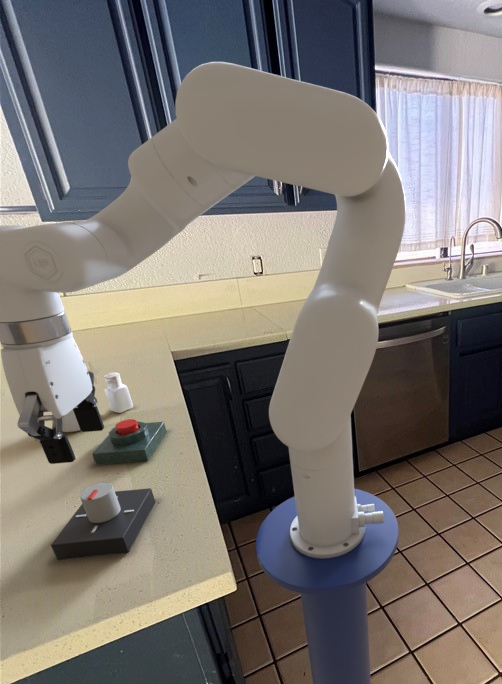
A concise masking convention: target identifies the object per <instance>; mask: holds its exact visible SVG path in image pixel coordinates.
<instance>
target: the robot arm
mask: <svg viewBox="0 0 502 684" xmlns="http://www.w3.org/2000/svg"><path fill="white" fill-rule="evenodd" d="M174 102H175V103H174V104H175V117H176V118H175V119H173V121H171V122H170V123H168V124H167V125H166V126H165V127H164V128H162V129H161V130H159V131H158V132H157V133H155V134H154V135H153V136H151V137H150V138H148V140H146V141H145V142H144V143H142V144H141V145H140V146H138V147H137V148H136V149H134V150H133V151H132V152H131V153H130V155H129V157H128V160H127V166H128V170H129V174H130V181H129V184H128V185H127V187H126V188H125V190H124V191H123V192H122V193H121V194H120V195H119V196H118V197H117V198H115V199H114V200H113V201H112V202H111V203H109V204H108V205H107V206H106V207H104V208H103V209H101V210H100V211H99V212H97V213H95V214H94V215H93V216H91V217H90V218H88V219H86V220H85V219H83V220H75V221H74V220H73V221H63V222H54V223H46V224H38V225H31V226H24V225H17V224H16V225H14V224H13V225H10V224H9V225H0V345H1V349H0V357H1V362H2V367H3V372H4V375H5V376H4V377H5V379H6V383H7V385H8V389H9V391H10V395H11V397H12V400H13V402H14V405H15V408H16V411H17V413H18V415H19V417H18V420H17V423H16V425H17V427H18V429H20V430H21V431H23V432H25V433H26V434H27V436H28V437H31V438H33V439H34V441H36V442H39V444H40V446H41V448H42V450H43V453H44V455H45V457H46V460H47V463H49V464H51V465H56V464H65V463H67V464H68V463H73V462H74V461H75V460H76V455H75V452H74V451H73V447H72V444H71V442H70V440H69V437H68V435H67V434H63V431H62V418H63V417H64V416H65V415H66V414H68V413H69V412H70V411H71V410H72V409H73V411H74V414H75V416H76V419H77V422H78V425H79V427H80V430H79V431H80V432H82V433H88V432H89V433H90V432H101V431H103V430H104V429H105V425H104V422H103V420H102V417H101V414H100V411H99V408H98V406H97V405H98V398H97V397H96V396H95V395H96V387H95V374H94V372H93V371H90V370H88V368H87V365H86V363H85V360H84V357H83V355H82V353H81V350H80V348H79V346H78V344H77V342H76V339H75V338H74V334H73V330H72V328H71V324H70V322H69V319H68V317H67V314H66V313H67V312H66V310H65V308H64V304H63V301H62V299H61V295H60V293H61V294H64V293H65V294H66V293H74V292H78V291H82V290H85V289H88V288H91V287H94V286H96V285H98V284H99V285H100V284H101V283H105V282H107V281H110V280H113V279H117V278H118V277H121V276H123V275H125V274H126V273H128V272H129V271H131V270H132V269H134V268H135V267H137V266H138V265H140V264H141V263H142V262H144V261H145V260H147V259H148V258H149V257H151V256H152V255H154V254H155V253H156V252H158V251H159V250H160V249H162V248H163V247H164V246H165V245H166V244H168V243H169V242H170V241H171V240H173V239H174V238H175V237H176V236H177V235H178V234H180V233H181V232H184V230H185V229H186V228H187V227H188V225H190V224H191V223H193V221H195V220H196V219H198V218H199V217H200V216H202V215H203V214H204V213H206V212H208V210H210V209H211V208H212V207H214V206H216V205H217V204H219V202H221V201H222V200H224V199H225V198H227V197H228V196H230V195H231V194H232V193H234V192H235V191H236V190H238V189H240V188H241V187H242V186H244V185H245V184H247V183H248V182H249V181H250V180H252V179H254V178H255V177H258V178H263V179H267V180H272V181H274V182H279V183H283V184H289V185H293V186H296V187H302V188H306V189H311V190H314V191H318V192H323V193H327V194H332V195H334V197H335V201H336V216H335V221H334V224H333V227H332V230H331V233H330V237H329V239H328V242H327V247H326V250H325V254H324V257H323V259H322V263H321V265H320V268H319V272H318V275H317V276H316V277H317V278H316V280H315V283H314V285H313V287H312V290H311V291H310V293H309V294H308V296H307V298H306V300H305V301H304V303H303V305H302V307H301V309H300V311H299V313H298V316H297V317H296V321H295V323H294V326H293V329H292V332H291V336H290V339H289V341H288V345H287V347H286V351H285V354H284V357H283V358H284V359H283V361H282V364H281V367H280V370H279V374H278V377H277V379H276V383H275V386H274V389H273V392H272V395H271V398H270V401H269V406H268V419H269V423H270V427H271V429H272V431H273V433H274V435H275V436H276V438H277V439H278V440H279V441H280V442H281V443H282V444H283V445H285V446H286V447H287V448H288V454H289V455H288V456H289V463H290V471H291V478H292V486H293V492H294V493H293V495H294V496H295V502H296V509H297V516H296V518H295V519H294V520H293V522H292V524H291V527H290V538H291V542H292V544H293V546H294V547H295V548H296V549H297V550H298V551H299V552H300V553H302V554H304V555H306V556H309V557H313V558H321V559H322V558H333V557H337V556H340V555H343V554H345V553H347V552H349V551H351V550H352V549H354V548H355V547H356V546H357V545H358V544H359V543H360V542H361V540H362V539H363V537H364V534H365V528H366V527H365V524H372V523H373V524H378V523H384V515H383V511H378V512H375V507H374V504H368V505H362V506H360V504H357V501H356V496H355V494H354V489H355V476H354V459H353V438H352V437H353V435H352V417H351V415H352V412H353V410H354V407H355V406H356V403H357V401H358V398H359V396H360V394H361V391H362V389H363V386H364V383H365V381H366V378H367V376H368V374H369V371H370V369H371V366H372V363H373V361H374V357H375V354H376V351H377V347H378V344H379V343H378V342H379V334H380V333H379V321H378V313H379V307H380V305H381V301H382V300H383V296H384V293H385V291H386V288H387V285H388V283H389V281H390V277H391V274H392V271H393V268H394V265H395V262H396V259H397V257H398V254H399V250H400V247H401V244H402V241H403V237H404V232H405V226H406V220H407V219H406V217H407V206H406V205H407V202H406V195H405V190H404V189H405V188H404V185H403V181H402V176H401V174H400V172H399V168H398V167H397V164H396V162H395V160H394V159H393V157H392V155H391V153H390V151H389V141H388V137H387V132H386V129H385V126H384V124H383V121H382V119H381V118H380V116H379V115H378V114H377V112H376V111H375V110H374V109H373V108H372V107H371V106H370V105H369V104H368V103H367V102H366V101H364V100H362V99H361V98H359V97H357V96H355V95H353V94H350V93H347V92H345V91H340V90H338V89H337V90H336V89H332V88H329V87H325V86H322V85H318V84H313V83H310V82H306V81H302V80H298V79H293V78H290V77H285V76H282V75H279V74H274V73H270V72H266V71H262V70H259V69H255V68H252V67H248V66H246V65H245V66H244V65H241V64H237V63H232V62H226V61H210V62H206V63H202V64H200V65H198V66H195V67H194V68H192V70H190V72H188V73H187V74H186V75H185V76H184V78H183V79H182V81H181V83H180V85H179V87H178V89H177V91H176V97H175V101H174ZM75 407H78V408H75ZM50 412H51V414H45V415H44V413H50ZM46 422H52V424H51V425H52V427H48V426H45V424H46ZM366 512H367V513H366ZM369 512H372V513H369ZM364 513H365V514H364Z"/></svg>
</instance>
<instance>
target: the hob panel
mask: <svg viewBox="0 0 502 684" xmlns="http://www.w3.org/2000/svg"><path fill="white" fill-rule="evenodd" d="M114 491H115V490H114ZM115 494H116V497H117V499H118V502H119V505H120V508H121V510H120V512H119V514H118V515H117V516H115V517H114V518H112V519H110V520H108V521H106V522H102V523H92V522H90V521H89V519H88V516H87V514H86V511H85V509H84V506H83V504H82V503H81V504H80V505H79V507H78V509H77V510H76V511H75V512H74V513H73V515H72V517H70V519H69V521H67V523H66V524H65V525H64V526H63V528H62V529H61V531H60V532H59V533H58V535H56V537H55V539H54V540H53V541H52V542H51V543H50V547H51V549H52V552H53V554H54V556H55V558H56V560H57V561H61V560H70V559H71V560H72V559H80V558H88V557H97V556H99V557H100V556H108V555H116V554H117V555H118V554H126V553H127V554H128V553H129V552H130V550H131V549H132V546H133V545H134V543H135V541H136V539H137V537H138V535H139V534H140V531H141V529H142V528H143V526H144V524H145V523H146V521H147V518H148V516H149V515H150V513H151V511H152V509H153V507H154V505H155V504H156V499H155V496H154V493H153V489H152V488H151V487H149V488H139V489H137V488H136V489H129V490H127V489H125V490H116V491H115Z"/></svg>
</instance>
